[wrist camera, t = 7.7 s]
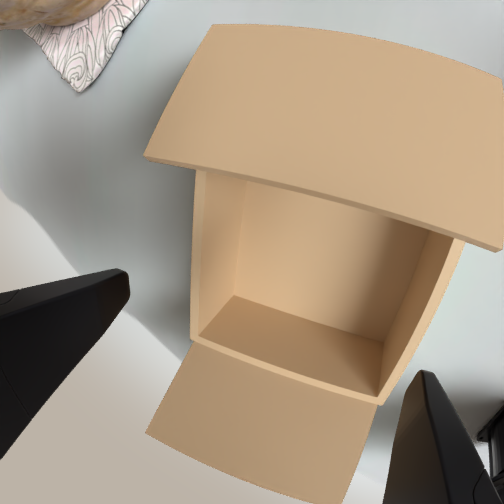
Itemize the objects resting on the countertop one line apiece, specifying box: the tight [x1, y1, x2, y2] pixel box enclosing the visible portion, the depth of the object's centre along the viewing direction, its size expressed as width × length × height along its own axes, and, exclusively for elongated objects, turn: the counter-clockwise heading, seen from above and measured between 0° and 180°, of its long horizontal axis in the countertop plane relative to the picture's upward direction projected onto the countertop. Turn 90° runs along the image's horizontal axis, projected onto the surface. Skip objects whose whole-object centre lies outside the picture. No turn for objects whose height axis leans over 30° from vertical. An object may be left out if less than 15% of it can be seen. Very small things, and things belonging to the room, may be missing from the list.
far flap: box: [145, 341, 378, 504], centre depth 17 cm, size 7×12×1 cm
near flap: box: [143, 24, 504, 253], centre depth 10 cm, size 7×12×1 cm
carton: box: [190, 170, 465, 406], centre depth 17 cm, size 18×13×6 cm
